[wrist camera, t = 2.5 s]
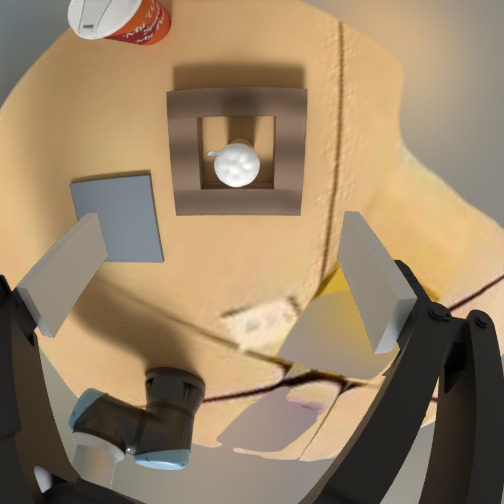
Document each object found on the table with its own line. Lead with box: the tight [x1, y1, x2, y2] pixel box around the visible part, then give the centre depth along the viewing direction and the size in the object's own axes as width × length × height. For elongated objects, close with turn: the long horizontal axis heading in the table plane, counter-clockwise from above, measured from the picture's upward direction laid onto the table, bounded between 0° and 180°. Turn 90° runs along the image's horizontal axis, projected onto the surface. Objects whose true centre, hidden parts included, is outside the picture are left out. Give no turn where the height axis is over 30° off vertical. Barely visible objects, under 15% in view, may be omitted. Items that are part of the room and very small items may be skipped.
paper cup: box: [68, 0, 171, 45], centre depth 18 cm, size 8×8×14 cm
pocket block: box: [166, 87, 307, 216], centre depth 33 cm, size 16×16×3 cm
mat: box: [70, 174, 164, 263], centre depth 39 cm, size 14×14×1 cm
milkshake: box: [207, 139, 260, 187], centre depth 30 cm, size 4×5×10 cm
